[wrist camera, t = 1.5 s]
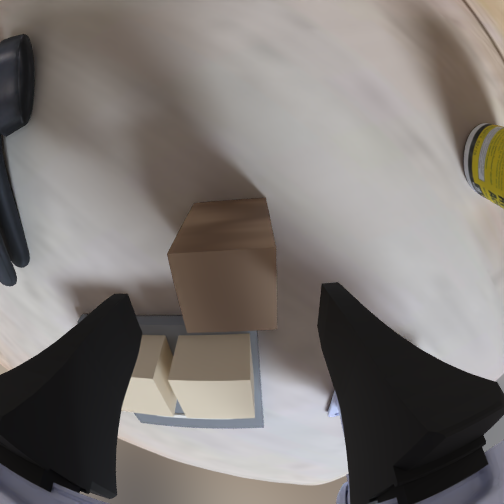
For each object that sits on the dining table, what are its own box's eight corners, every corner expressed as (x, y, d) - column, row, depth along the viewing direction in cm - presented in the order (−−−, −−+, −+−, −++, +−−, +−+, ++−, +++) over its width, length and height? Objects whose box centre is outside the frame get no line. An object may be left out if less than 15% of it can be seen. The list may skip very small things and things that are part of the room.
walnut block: (265, 197, 15) (276, 247, 10) (268, 261, 17) (277, 329, 12) (194, 202, 15) (167, 253, 10) (203, 264, 17) (186, 332, 12)
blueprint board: (255, 312, 19) (258, 369, 15) (263, 419, 27) (265, 459, 22) (82, 314, 19) (56, 358, 15) (142, 415, 27) (134, 451, 22)
